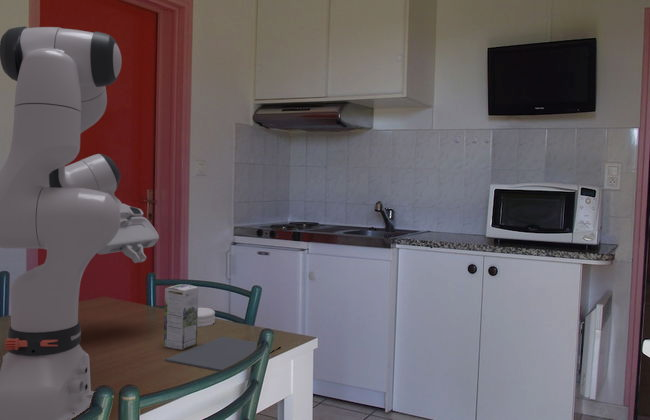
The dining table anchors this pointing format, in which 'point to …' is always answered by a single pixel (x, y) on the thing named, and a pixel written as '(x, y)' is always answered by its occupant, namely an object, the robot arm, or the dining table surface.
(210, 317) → the white round tub
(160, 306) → the dining table surface
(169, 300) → the syrup box
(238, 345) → the mat
